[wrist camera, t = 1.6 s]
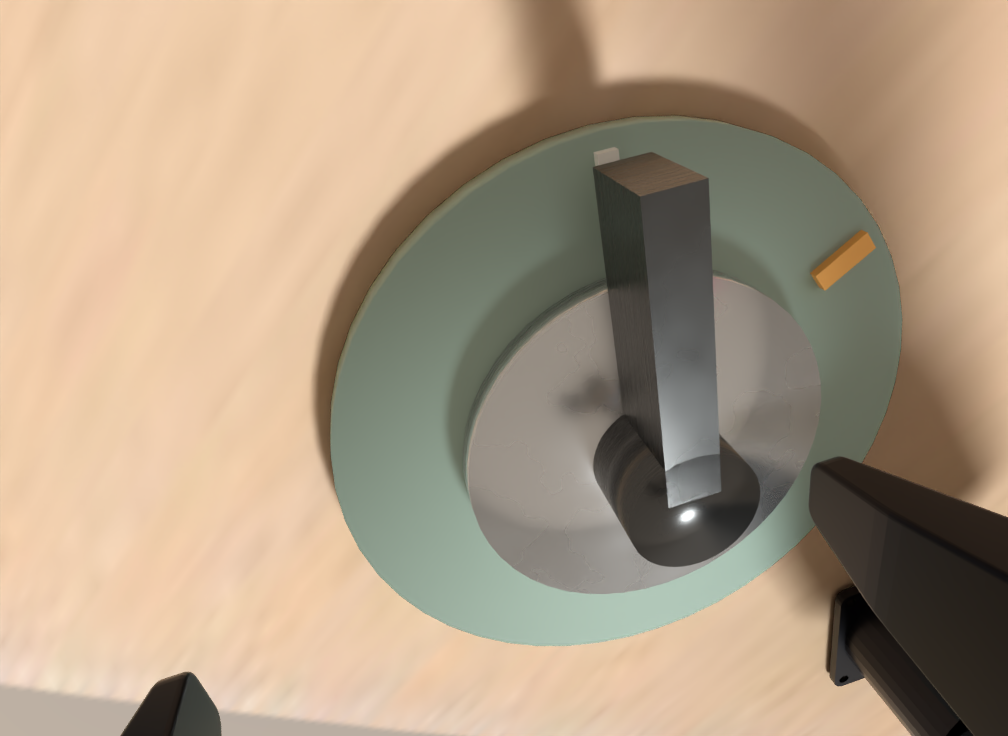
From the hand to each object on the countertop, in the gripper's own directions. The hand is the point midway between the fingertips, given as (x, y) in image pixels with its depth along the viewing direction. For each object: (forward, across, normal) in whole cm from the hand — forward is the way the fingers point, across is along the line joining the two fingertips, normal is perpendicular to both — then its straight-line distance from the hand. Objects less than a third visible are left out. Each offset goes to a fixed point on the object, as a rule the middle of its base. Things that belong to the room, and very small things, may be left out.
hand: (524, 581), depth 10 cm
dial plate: (+12, -6, +7) cm, 15 cm away
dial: (+11, -6, +6) cm, 14 cm away
